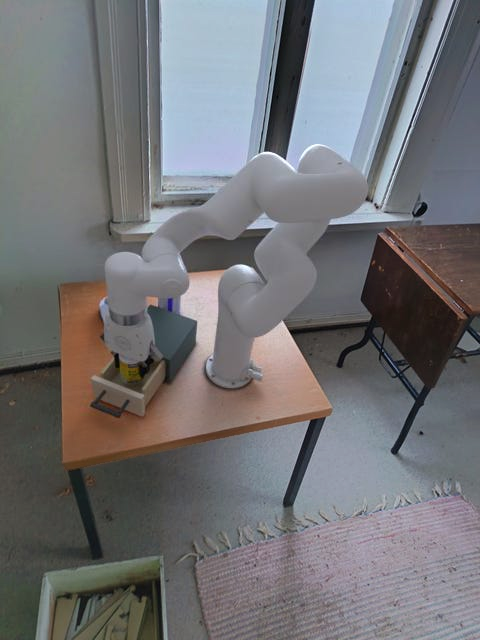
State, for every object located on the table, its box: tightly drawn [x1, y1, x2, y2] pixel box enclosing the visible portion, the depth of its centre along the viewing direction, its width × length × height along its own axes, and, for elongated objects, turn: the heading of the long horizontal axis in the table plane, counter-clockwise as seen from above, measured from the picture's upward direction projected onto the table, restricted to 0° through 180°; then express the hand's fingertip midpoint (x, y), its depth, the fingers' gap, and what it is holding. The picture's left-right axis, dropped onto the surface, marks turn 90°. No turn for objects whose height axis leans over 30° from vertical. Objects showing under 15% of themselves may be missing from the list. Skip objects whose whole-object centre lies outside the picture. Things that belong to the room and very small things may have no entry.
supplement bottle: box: [119, 354, 144, 384], centre depth 93 cm, size 6×6×10 cm
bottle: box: [157, 295, 182, 315], centre depth 114 cm, size 7×6×17 cm
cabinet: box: [147, 304, 198, 384], centre depth 106 cm, size 16×14×9 cm
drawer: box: [89, 356, 167, 419], centre depth 95 cm, size 19×13×7 cm, turn 160°
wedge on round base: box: [99, 296, 109, 325], centre depth 114 cm, size 9×7×13 cm
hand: (132, 368), depth 94 cm, fingers closed on supplement bottle, 5 cm apart
